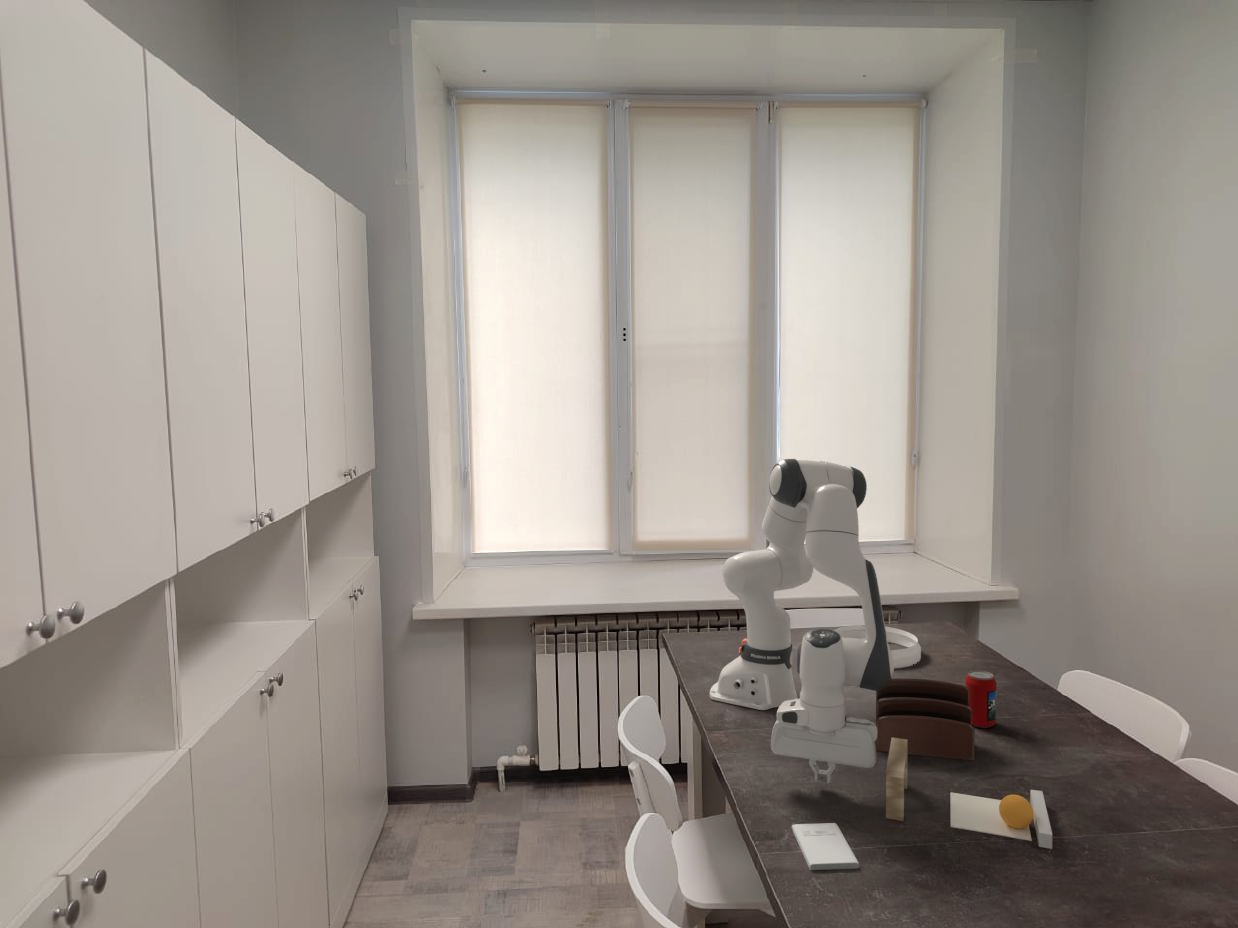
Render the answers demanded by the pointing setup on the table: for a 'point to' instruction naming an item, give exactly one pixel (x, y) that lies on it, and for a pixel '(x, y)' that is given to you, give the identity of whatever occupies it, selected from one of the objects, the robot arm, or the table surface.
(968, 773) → the table surface
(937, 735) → the letter holder
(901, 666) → the white ring
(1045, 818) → the stopper
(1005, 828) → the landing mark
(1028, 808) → the ball
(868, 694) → the table surface
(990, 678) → the beverage can
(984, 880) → the table surface
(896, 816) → the bridge
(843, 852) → the external hard drive
